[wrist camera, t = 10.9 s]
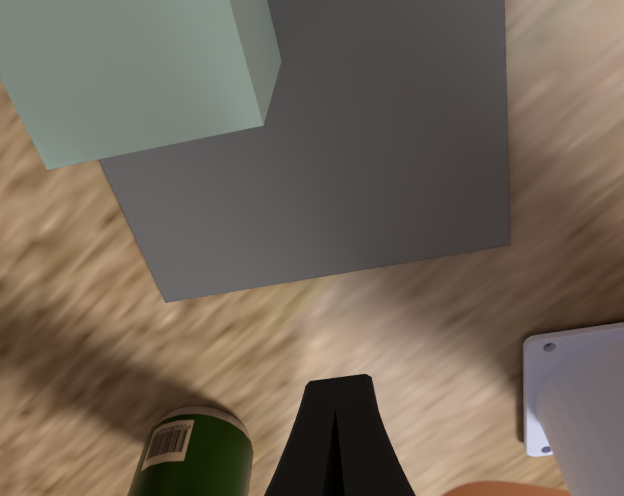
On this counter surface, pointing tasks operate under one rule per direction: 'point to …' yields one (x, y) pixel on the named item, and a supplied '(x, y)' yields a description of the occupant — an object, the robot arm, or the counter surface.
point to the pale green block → (135, 72)
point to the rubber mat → (338, 154)
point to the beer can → (195, 456)
